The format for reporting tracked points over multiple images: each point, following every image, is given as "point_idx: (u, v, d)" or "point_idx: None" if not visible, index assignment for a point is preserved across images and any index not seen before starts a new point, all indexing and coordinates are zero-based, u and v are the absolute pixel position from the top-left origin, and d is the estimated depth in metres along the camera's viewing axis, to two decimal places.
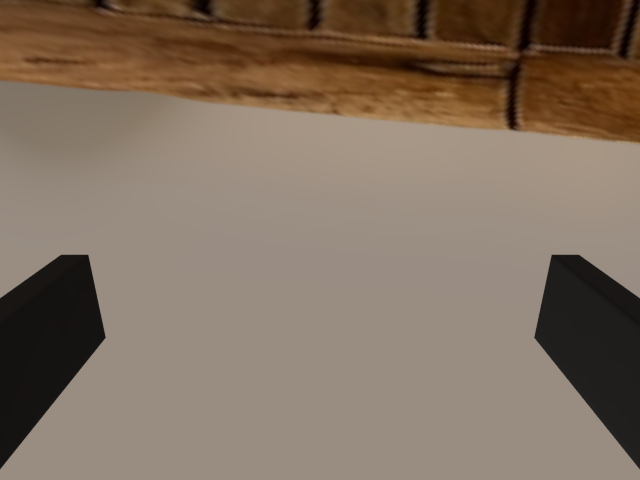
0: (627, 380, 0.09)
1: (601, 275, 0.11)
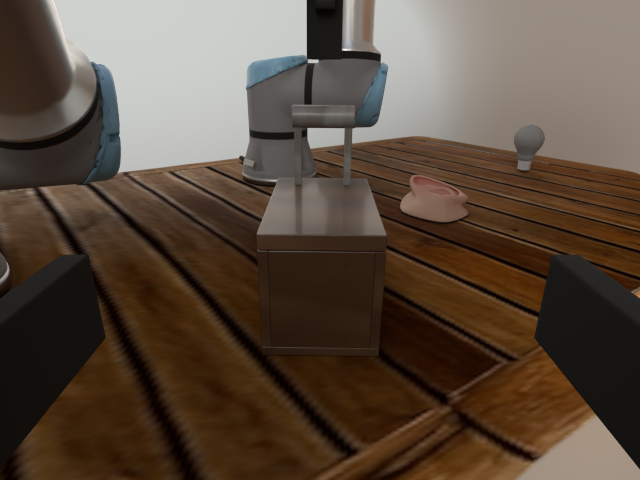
0: (626, 380, 0.09)
1: (601, 275, 0.11)
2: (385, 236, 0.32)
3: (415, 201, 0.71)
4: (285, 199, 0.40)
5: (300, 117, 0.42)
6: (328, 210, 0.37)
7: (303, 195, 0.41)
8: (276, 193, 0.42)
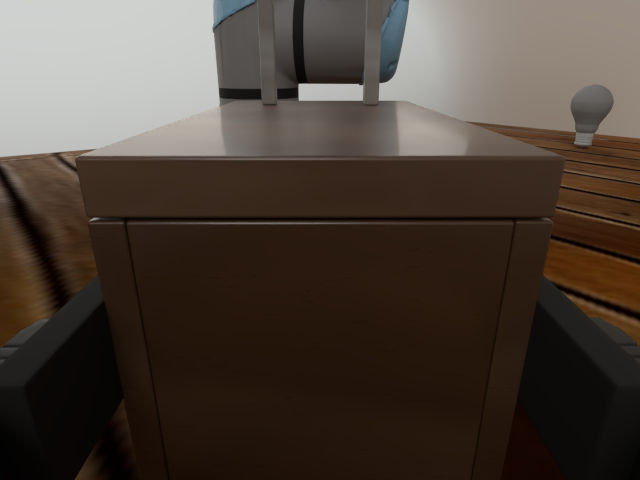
0: None
1: None
2: (560, 159, 0.09)
3: None
4: (230, 114, 0.17)
5: None
6: (336, 123, 0.14)
7: (277, 111, 0.18)
8: (215, 110, 0.18)
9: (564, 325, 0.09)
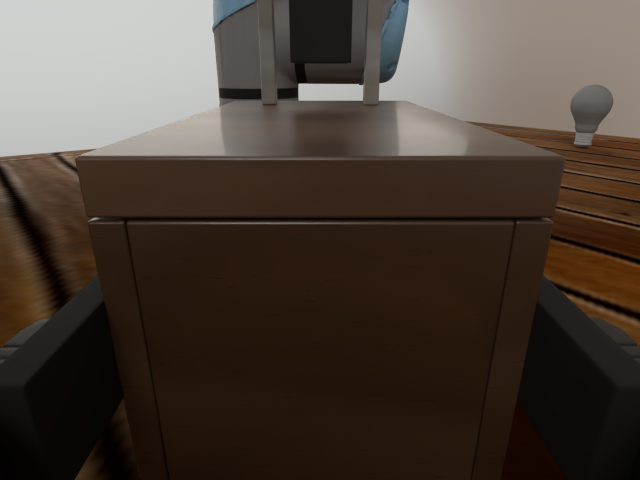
0: None
1: None
2: (560, 159, 0.09)
3: None
4: (230, 114, 0.17)
5: None
6: (336, 123, 0.14)
7: (277, 111, 0.18)
8: (215, 110, 0.18)
9: (564, 325, 0.09)
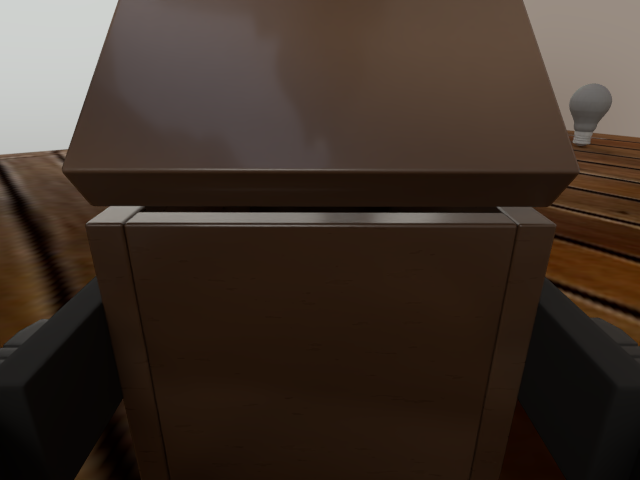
0: None
1: None
2: (573, 174, 0.08)
3: None
4: None
5: None
6: None
7: None
8: None
9: (564, 325, 0.09)
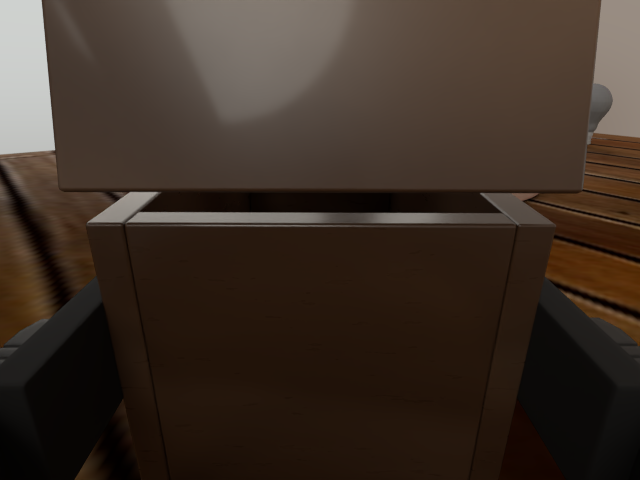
0: None
1: None
2: None
3: None
4: None
5: None
6: None
7: None
8: None
9: (564, 325, 0.09)
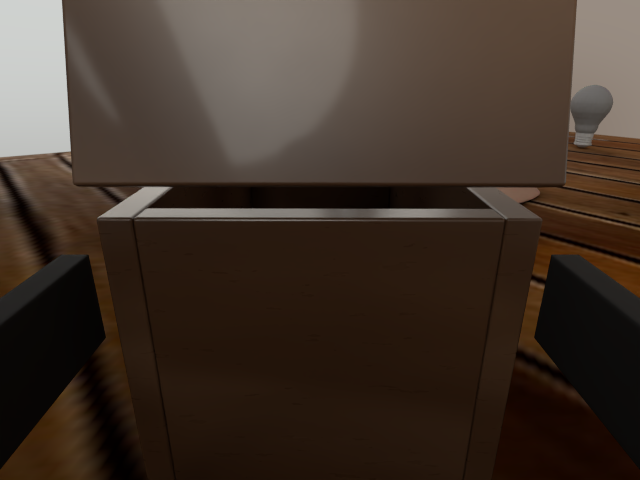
0: (626, 380, 0.09)
1: (601, 275, 0.11)
2: (558, 186, 0.09)
3: None
4: None
5: None
6: None
7: None
8: None
9: None
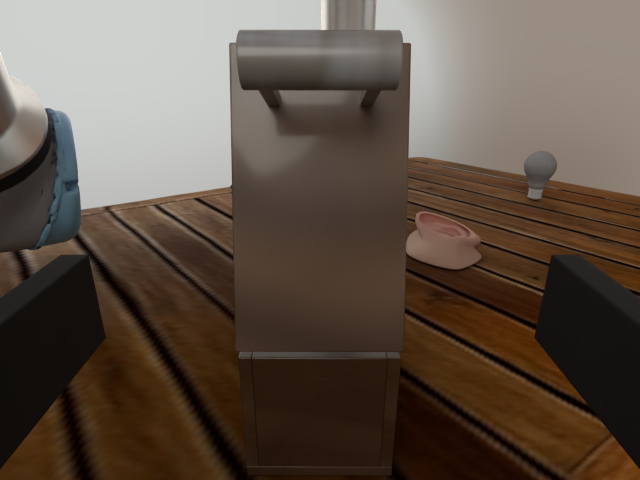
0: (626, 381, 0.09)
1: (601, 275, 0.11)
2: None
3: (423, 243, 0.64)
4: (258, 201, 0.24)
5: (262, 89, 0.17)
6: (329, 253, 0.24)
7: (288, 176, 0.24)
8: (238, 162, 0.24)
9: None
